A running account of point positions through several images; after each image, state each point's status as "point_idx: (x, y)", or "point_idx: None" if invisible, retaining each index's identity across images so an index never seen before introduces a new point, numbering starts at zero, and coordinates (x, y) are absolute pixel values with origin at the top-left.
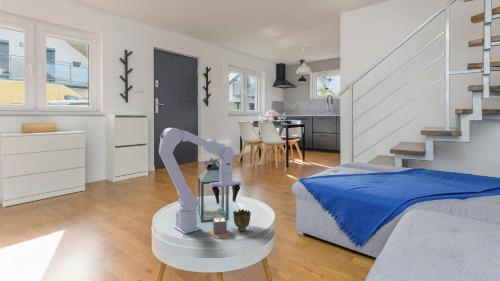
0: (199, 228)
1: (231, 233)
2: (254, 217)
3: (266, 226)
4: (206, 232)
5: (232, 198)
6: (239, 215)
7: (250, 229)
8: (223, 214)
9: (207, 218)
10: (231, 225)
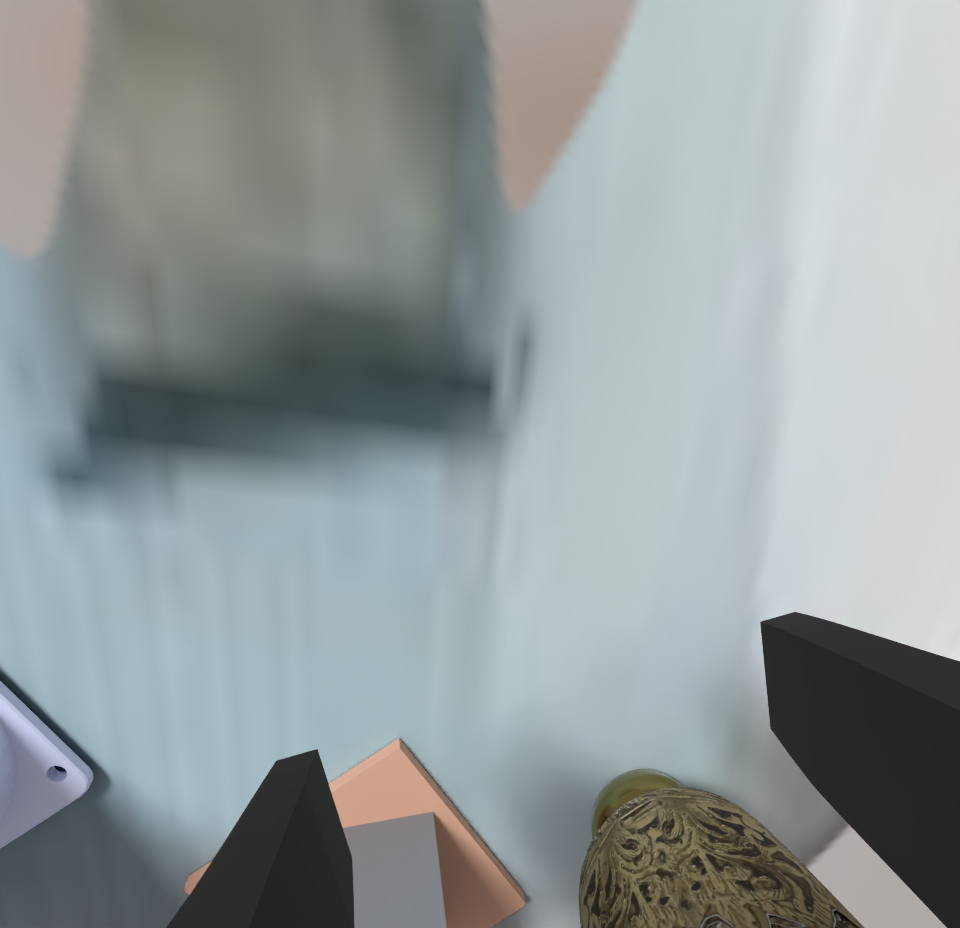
0: (64, 795)
1: (501, 917)
2: (898, 374)
3: None
4: (189, 886)
5: (804, 638)
6: (701, 859)
7: (730, 780)
8: (455, 116)
9: (149, 297)
10: (532, 649)
